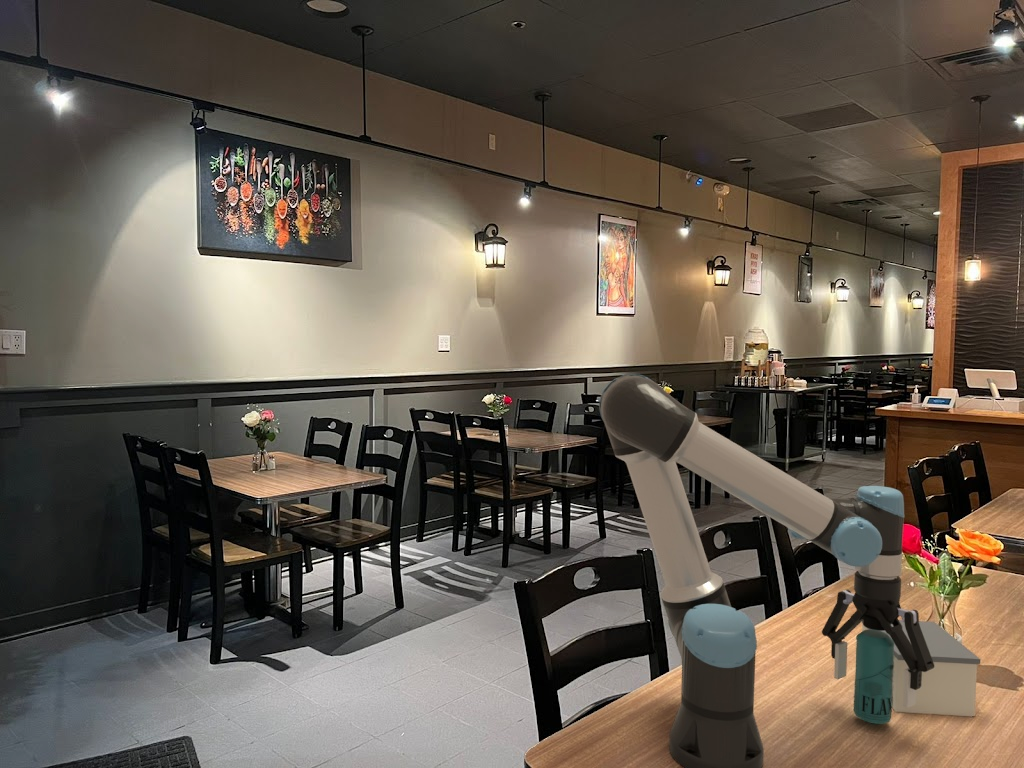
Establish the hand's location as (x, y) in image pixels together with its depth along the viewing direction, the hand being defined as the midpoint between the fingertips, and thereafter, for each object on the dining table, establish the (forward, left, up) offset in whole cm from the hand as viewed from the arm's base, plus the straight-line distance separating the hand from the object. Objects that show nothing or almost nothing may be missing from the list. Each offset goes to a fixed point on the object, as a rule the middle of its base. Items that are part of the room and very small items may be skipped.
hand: (873, 690), depth 135 cm
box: (+13, +14, -6) cm, 20 cm away
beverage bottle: (0, 0, -6) cm, 6 cm away
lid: (+13, +14, +4) cm, 20 cm away
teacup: (+25, +31, -6) cm, 40 cm away
